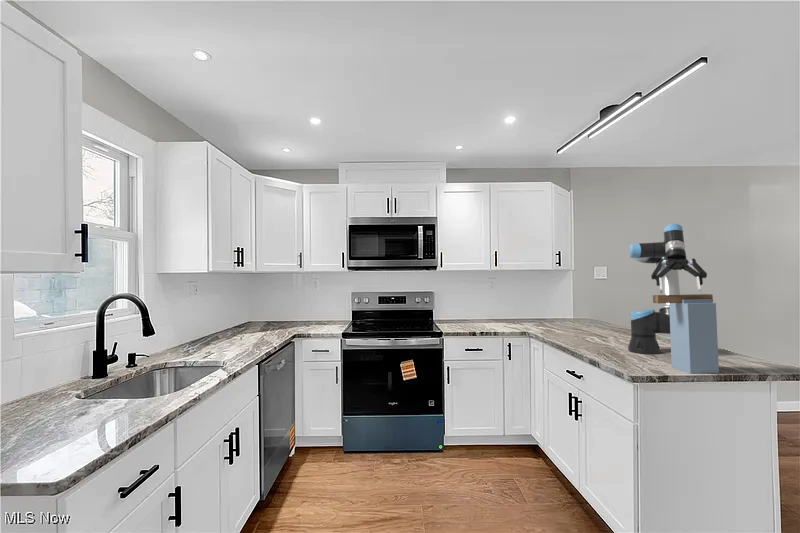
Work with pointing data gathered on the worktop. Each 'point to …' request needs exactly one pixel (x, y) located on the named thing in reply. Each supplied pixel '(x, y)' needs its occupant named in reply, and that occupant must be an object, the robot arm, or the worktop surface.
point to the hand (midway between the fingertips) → (679, 291)
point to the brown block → (679, 298)
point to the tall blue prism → (694, 336)
